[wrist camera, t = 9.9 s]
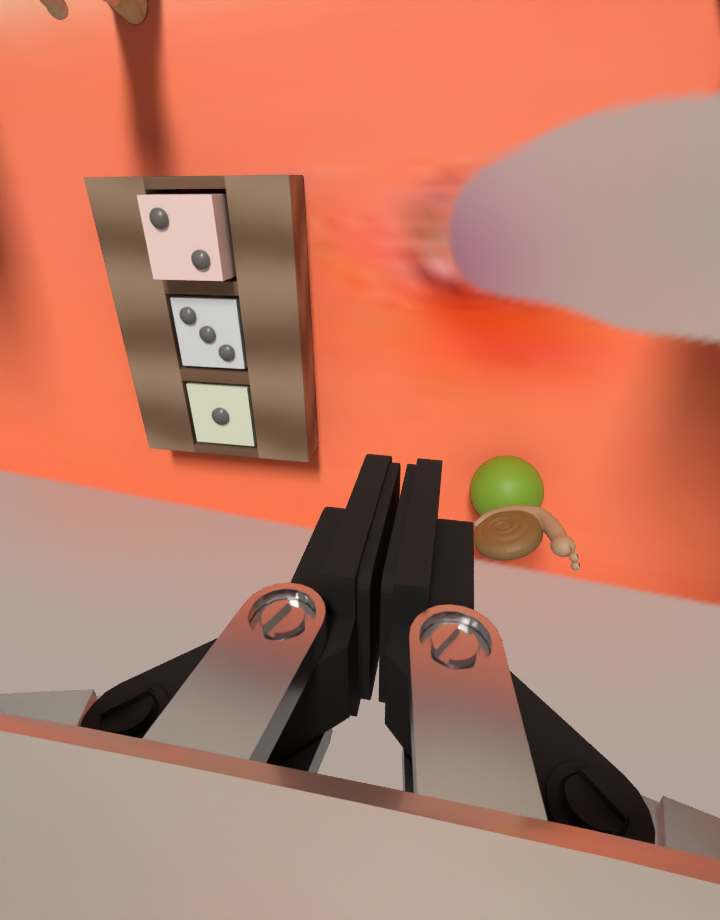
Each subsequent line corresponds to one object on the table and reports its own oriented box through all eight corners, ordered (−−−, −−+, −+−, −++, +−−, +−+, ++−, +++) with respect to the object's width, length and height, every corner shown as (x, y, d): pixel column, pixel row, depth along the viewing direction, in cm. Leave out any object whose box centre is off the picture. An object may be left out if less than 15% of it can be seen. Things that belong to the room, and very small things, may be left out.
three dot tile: (187, 291, 38) (168, 298, 35) (249, 292, 37) (234, 300, 34) (198, 355, 40) (181, 366, 38) (256, 358, 39) (243, 369, 37)
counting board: (112, 177, 35) (84, 177, 33) (303, 175, 33) (289, 174, 30) (167, 432, 45) (149, 448, 42) (318, 445, 42) (308, 462, 40)
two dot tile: (158, 194, 33) (134, 195, 31) (228, 193, 32) (209, 194, 30) (172, 273, 36) (151, 279, 33) (238, 275, 35) (221, 281, 32)
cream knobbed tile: (201, 373, 41) (185, 385, 38) (258, 376, 40) (246, 389, 38) (210, 428, 43) (195, 442, 41) (265, 432, 42) (253, 447, 40)
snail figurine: (558, 491, 40) (588, 598, 30) (479, 506, 42) (481, 611, 32) (544, 433, 38) (572, 526, 28) (462, 452, 40) (459, 545, 30)
